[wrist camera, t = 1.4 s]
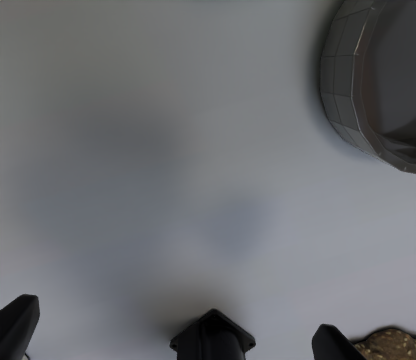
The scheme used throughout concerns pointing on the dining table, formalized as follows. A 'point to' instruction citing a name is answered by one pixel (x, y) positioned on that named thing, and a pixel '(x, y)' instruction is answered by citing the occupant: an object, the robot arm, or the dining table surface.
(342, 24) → the pan
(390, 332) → the bread roll
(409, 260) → the dining table surface
